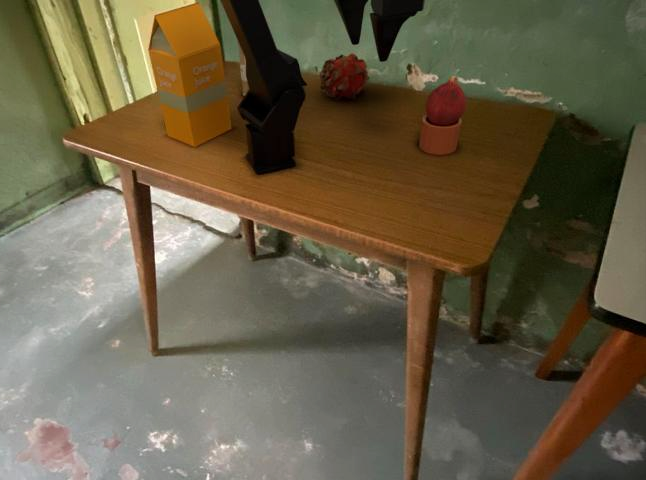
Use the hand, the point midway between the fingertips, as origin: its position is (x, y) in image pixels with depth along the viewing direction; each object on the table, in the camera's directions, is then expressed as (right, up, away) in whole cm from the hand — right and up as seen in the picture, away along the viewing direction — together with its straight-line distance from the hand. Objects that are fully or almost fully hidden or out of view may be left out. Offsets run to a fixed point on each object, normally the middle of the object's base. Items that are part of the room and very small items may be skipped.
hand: (368, 52), depth 75 cm
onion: (+11, -11, +1) cm, 16 cm away
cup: (+12, -14, +3) cm, 18 cm away
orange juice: (-28, -9, +12) cm, 32 cm away
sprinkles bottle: (-19, +2, +24) cm, 31 cm away
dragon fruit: (-1, +1, +21) cm, 21 cm away
